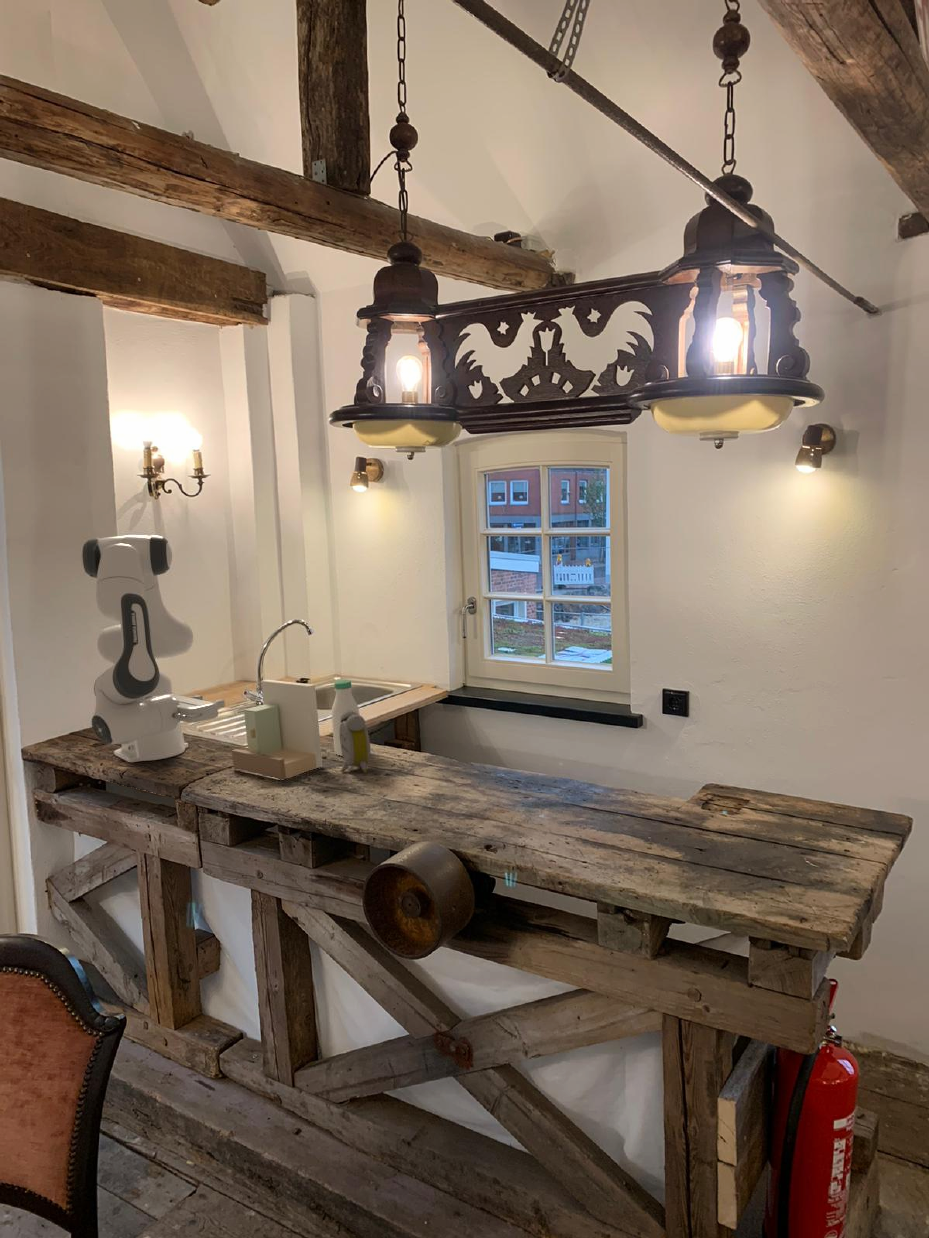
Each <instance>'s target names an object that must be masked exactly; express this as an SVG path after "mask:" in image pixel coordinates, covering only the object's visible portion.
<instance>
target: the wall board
mask: <svg viewBox="0 0 929 1238" xmlns="http://www.w3.org/2000/svg"><path fill="white" fill-rule="evenodd" d="M260 683H261V690H262V691H261V693H262V703H263V704H262V705H264V704H269V705H276V706H277V707H278V717H279V727H280V737H281V748H282V750H278V751H275V752H272V753H269V754H265V755H264V754H259V753H254V752H249V751H248V750H243V749H238V748H236V749H233V750H231V756H232V757H231V758H232V763H233V764H232V765H233V766H232V767H233V770H234V769H241V770H248V771H251V772H255V773H260V774H263V775H266V776H270V777H275V778H278V779H280V780H282V779H285V778H287V777H292V776H294V775H297V774H299V773H304V772H306V771H309V770H313V769H316V768H318V767H321V768H323V760H322V749H321V748H322V747H321V746H322V745H321V735H320V734H321V733H320V726H319V725H320V724H319V715H318V703H317V694H316V692H317V691H316V685H315V684H314V683H313V684H312V683H303V682H293V681H283V680H276V679H274V680H273V679H263V680H261V681H260ZM316 770H317V769H316ZM313 771H314V770H313ZM304 774H305V773H304Z"/></svg>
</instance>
